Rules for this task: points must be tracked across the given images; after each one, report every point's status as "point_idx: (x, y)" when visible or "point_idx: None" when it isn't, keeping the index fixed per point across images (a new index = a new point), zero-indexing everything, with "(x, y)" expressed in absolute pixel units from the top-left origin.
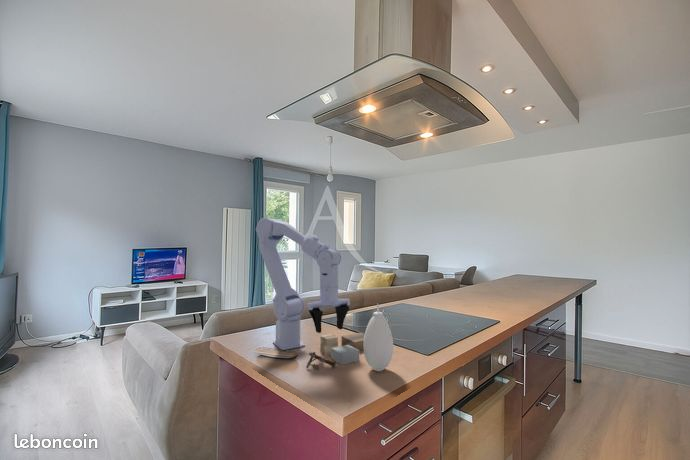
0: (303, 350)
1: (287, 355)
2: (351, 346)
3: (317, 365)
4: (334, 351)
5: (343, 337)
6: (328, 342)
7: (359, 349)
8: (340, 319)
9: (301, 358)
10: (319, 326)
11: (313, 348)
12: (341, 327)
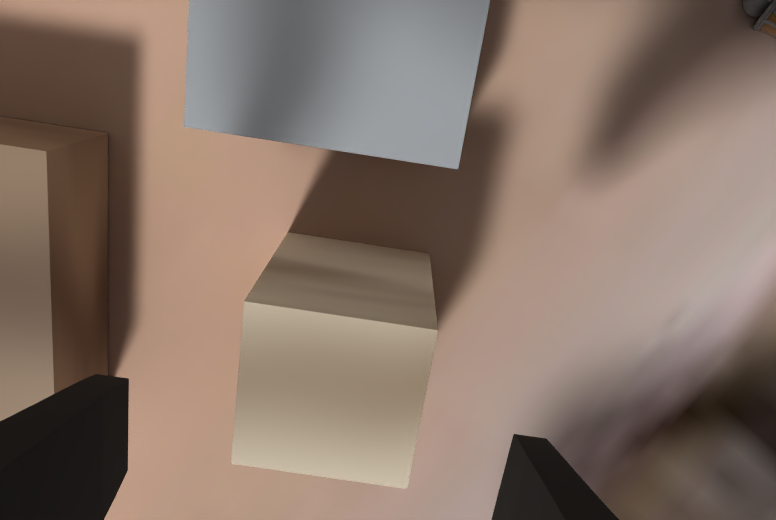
0: None
1: (708, 488)
2: (193, 31)
3: (770, 13)
4: (473, 77)
5: None
6: (405, 303)
7: (29, 123)
8: (18, 507)
9: (672, 347)
10: (588, 501)
11: None
12: (96, 384)
